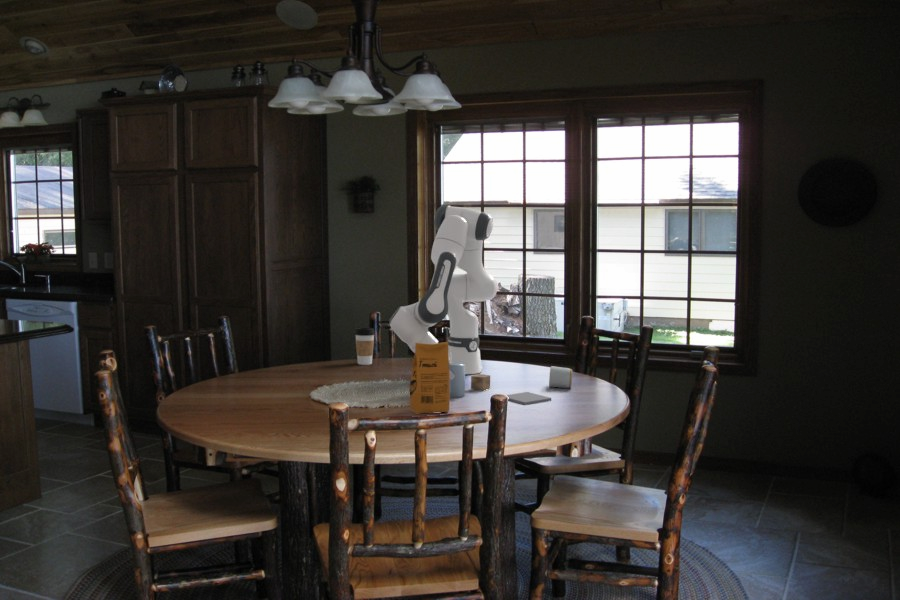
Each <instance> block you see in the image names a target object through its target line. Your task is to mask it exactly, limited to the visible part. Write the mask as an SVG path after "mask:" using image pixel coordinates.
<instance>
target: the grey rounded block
mask: <svg viewBox="0 0 900 600" xmlns="http://www.w3.org/2000/svg"><path fill="white" fill-rule="evenodd" d="M549 371H550V372H549V379H548V387H549V388H555V387H558V388H559V389H560V388H563V389H570V388H572V386H573V385H572V384H573V369H572V368H569V367H562V366H561V367H560V366H553V365H551V366H550V369H549ZM558 388H557V389H558Z"/></svg>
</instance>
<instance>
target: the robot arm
mask: <svg viewBox="0 0 900 600" xmlns="http://www.w3.org/2000/svg"><path fill="white" fill-rule="evenodd" d="M433 217H434V218H433V227H434V228H435V230H436V231H437V233H436V235H435V236H434V237H435V238H434V241H433V244H432V248H431V253H430V259H431V261H432V263H433V265H434V273H433V276H432V279H431V283H430V286H429V288H428V290H427V292H426V294H424V295H423V297H422V298H420V300H419V301H417V302H415V303H412V304H409V305H404V306H399V307H398V308H397V309H396V310H395V312H394V313H393V314H392V315H391V317H390V318H389V326H390V328H391V330H392V331H393V333H394V334H396V336H397V337H398V338H399V339H400V340H401V341H402V342H404V343H406V344H407V346H408V347H409V350H411V351H412V352H413V353H414V354H415V344H416V343H423V344H437V343H440V341H439V340H438V339H437V338H436V337H435V336H434V335H433V334H432V333H431V332H430V331H429V328H430V327H433V326H435V325H436V324H438V323H440V322H442V321H443V320H445V318H446V317H447V315H448V317H449V328H450V329H449V331H450V333H449V334H450V335H449V336H447V337H446V338H445V340H446V341H447V343H448V347H449V349H448V356H449V364H450V363H463V364H465V375H476V374H481V372H482V370H484V368H483V365H482V361H481V350H480V348H479V346H480V336H479V318H478V316H477V315H476V313H474V312H473V311H471V310H469V309H467V308H465V307H464V303H465V302H468V303H469V302H474V303H475V302H479V303H480V302H482V303H483V302H487V301H491V300H494V298H495V297H496V295H497V292H498V283H497V281H496V279H495V277H493V276H492V275H491V274H490V273H488V272H487V270H486V268H484V264H483V243H484V242H483V241H485V240H487V239H488V238H489V237H490V236H491V234H492V231H493V226H494V223H493V217H492V216H491V215H490V214H489V213H487V212H485V211H480V210H477V209H476V210H475V209H472V208H469V207H460V206H452V205H449V204H447V205H446V204H445V205H441V206H440V207H438V208H437V209H436V211H435V214H434V216H433ZM456 268H458V269H460V270H462V271H463V272H465V273H454V272H455V270H456ZM449 372H450V375H449V378H450V379H451V380H452V379H453V378H455V375H454V374H453V373H452V372H451V371H450V370H449Z"/></svg>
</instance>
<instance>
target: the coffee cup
mask: <svg viewBox="0 0 900 600" xmlns="http://www.w3.org/2000/svg"><path fill="white" fill-rule="evenodd" d="M354 335H355V348H356V349H355V350H356V357H357V358H356V359H357V365H361V366H364V365H365V366H367V365H368V366H369V365H372V364H373V355H374V343H375V335H376V333H375V330H374V328H373V327H359V328H355V332H354Z"/></svg>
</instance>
